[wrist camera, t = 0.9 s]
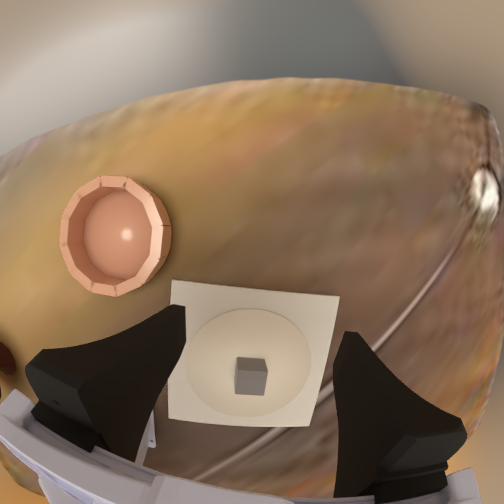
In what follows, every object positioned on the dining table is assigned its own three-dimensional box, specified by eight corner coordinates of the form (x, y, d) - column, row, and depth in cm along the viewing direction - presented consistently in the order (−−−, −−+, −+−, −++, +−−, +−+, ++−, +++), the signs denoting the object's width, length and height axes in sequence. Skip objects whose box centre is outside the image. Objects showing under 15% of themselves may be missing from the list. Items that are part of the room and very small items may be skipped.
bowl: (167, 292, 29) (157, 303, 24) (78, 278, 27) (58, 285, 23) (178, 187, 28) (169, 179, 23) (87, 181, 27) (67, 174, 22)
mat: (308, 423, 31) (308, 425, 31) (169, 415, 30) (168, 418, 29) (338, 295, 30) (339, 296, 30) (172, 278, 28) (171, 279, 28)
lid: (297, 415, 31) (303, 432, 27) (184, 408, 29) (180, 426, 26) (320, 313, 30) (331, 323, 26) (189, 301, 28) (184, 311, 25)
